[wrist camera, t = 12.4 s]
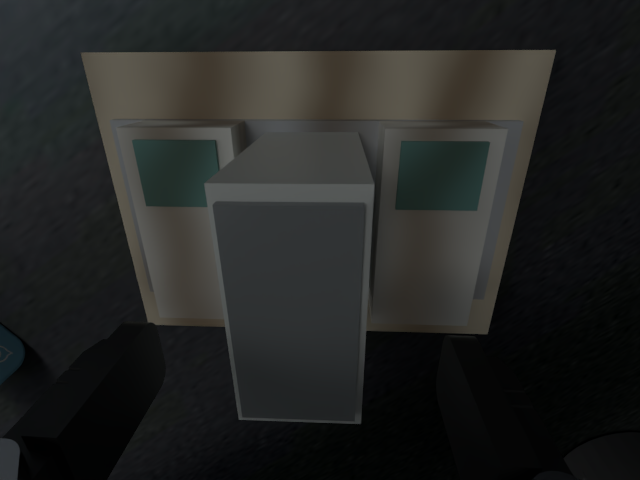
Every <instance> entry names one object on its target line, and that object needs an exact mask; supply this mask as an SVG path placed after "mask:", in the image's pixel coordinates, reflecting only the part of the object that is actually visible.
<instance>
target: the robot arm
mask: <svg viewBox="0 0 640 480" xmlns="http://www.w3.org/2000/svg"><path fill="white" fill-rule="evenodd" d="M165 369H166V368H165V361H164V356H163V352H162V348H161V343H160V339H159V334H158V330H157V327H156V325H155V324H154V323H152V322H123V323H122V324H121V325H120V326H119V327H118V328H117V329H116V330H115V331H114V332H113V334H112V335H111V336H110V337H109V338H108V339H103V340H101V341H100V342H98V343H96V344H95V345H93V346H92V347H90V348H89V349H87V350H86V351H84V352H83V353H82V354H81V355H80V356H79V357H78V358H77V359H76V360H75V361H74V362H73V364H72V365H71V366H70V367H69V370H68V371H65V372H64V373H63V374H62V375H61V376H60V377H59V378H58V379H57V382H56V384H53V385H52V386H51V387H50V388H49V389H48V390H47V391H46V392H45V393H44V394H43V395H42V396H41V397H40V399H39V400H38V401H37V402H36V403H35V404H34V405H33V406H32V407H31V408H30V409H29V410H28V411H27V412H26V413H25V414H24V416H23V417H22V418H21V419H20V420H19V421H18V422H17V423H16V424H15V425H14V426H13V427H12V428H11V429H10V430H9V431H8V433H7V434H6V435H5V436H4V437H3V438H0V480H107V479H108V477H109V475H110V473H111V472H112V470H113V468H114V467H115V465H116V463H117V461H118V460H119V458H120V456H121V455H122V453H123V451H124V450H125V448H126V446H127V444H128V443H129V441H130V439H131V438H132V436H133V434H134V432H135V431H136V429H137V427H138V426H139V424H140V422H141V421H142V419H143V417H144V415H145V414H146V412H147V410H148V409H149V407H150V405H151V403H152V402H153V400H154V398H155V397H156V395H157V393H158V392H159V390H160V388H161V386H162V384H163V381H164V377H165ZM436 393H437V400H438V404H439V407H440V411H441V414H442V418H443V421H444V425H445V428H446V432H447V435H448V439H449V442H450V446H451V449H452V452H453V456H454V459H455V463H456V466H457V470H458V473H459V477H460V480H640V433H638V432H626V433H616V434H611V435H606V436H602V437H599V438H596V439H593V440H590V441H588V442H586V443H584V444H582V445H580V446H578V447H577V448H575V449H574V450H573V451H571V452H570V453H568V454H567V455H566V456H565V457H564V458H563V457H562V455H561V453H560V452H559V450H558V448H557V446H556V445H555V443H554V441H553V439H552V438H551V436H550V434H549V432H548V431H547V429H546V427H545V425H544V424H543V422H542V420H541V418H540V417H539V415H538V413H537V411H536V410H535V409H533V404H532V403H531V401H530V399H529V397H528V396H527V394H525V393H524V389H523V387H522V385H521V384H520V382H519V380H518V378H517V377H516V375H515V373H514V372H513V371H512V370H511V369H510V368H509V367H508V366H506V365H505V364H504V363H503V362H502V361H501V360H500V359H499V358H498V357H486V355H485V353H484V351H483V349H482V347H481V345H480V343H479V341H478V339H477V338H476V337H475V336H455V335H446V336H445V337H444V339H443V344H442V349H441V355H440V360H439V366H438V371H437V377H436Z"/></svg>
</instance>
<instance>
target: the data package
mask: <svg viewBox="0 0 640 480" xmlns="http://www.w3.org/2000/svg"><path fill="white" fill-rule="evenodd" d="M24 358H25V348H24V345H23V343H22V342H21V340H20V339H19V338H18V337H17V336H15V335H14V334H13V333H11V332H10V331H9V330H8V329H6V328H5V327H4V326H3V325H1V324H0V385H1V384H2V383H3V382H4V381H5V380H6V379H7V378H8V377H10V376H11V375H12V374H13V373H14V372H15V371H16V370H17V369H18V368H19V367H20V366H21V364H22V363H23V361H24Z"/></svg>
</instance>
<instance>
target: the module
mask: <svg viewBox="0 0 640 480" xmlns="http://www.w3.org/2000/svg"><path fill="white" fill-rule="evenodd" d="M204 186H205V193H206V200H207V206H208V213H209V220H210V227H211V233H212V240H213V247H214V254H215V261H216V267H217V274H218V281H219V288H220V295H221V301H222V308H223V315H224V322H225V328H226V335H227V342H228V349H229V356H230V362H231V369H232V376H233V383H234V390H235V396H236V403H237V410H238V417H239V420H264V421H291V422H319V423H347V424H361V413H362V395H363V378H364V360H365V342H366V325H367V307H368V289H369V272H370V254H371V237H372V219H373V201H374V181H373V178H372V175H371V172H370V169H369V165H368V162H367V159H366V156H365V153H364V149H363V146H362V143H361V140H360V137H359V134H358V132H266V133H264V134H263V135H262V136H261V137H259V138H258V139H257V140H256V141H255V142H253V143H252V144H251V145H250V146H249V147H247V148H246V149H245V150H244V151H243V152H241V153H240V154H239V155H238V156H237V157H235V158H234V159H233V160H232V161H231V162H229V163H228V164H227V165H226V166H224V167H223V168H222V169H221V170H220V171H218V172H217V173H216V174H215V175H214V176H212V177H211V178H210V179H209V180H208V181H206V182H205V183H204Z"/></svg>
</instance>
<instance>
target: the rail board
mask: <svg viewBox="0 0 640 480" xmlns="http://www.w3.org/2000/svg"><path fill="white" fill-rule="evenodd" d="M555 52H556V50H468V51H291V52H114V53H81V56H82V60H83V64H84V68H85V72H86V76H87V80H88V84H89V88H90V92H91V96H92V100H93V104H94V108H95V112H96V116H97V120H98V124H99V128H100V132H101V136H102V140H103V144H104V148H105V152H106V156H107V160H108V164H109V168H110V172H111V176H112V180H113V184H114V188H115V192H116V196H117V200H118V204H119V208H120V212H121V216H122V220H123V224H124V228H125V232H126V236H127V240H128V244H129V248H130V252H131V256H132V260H133V264H134V268H135V272H136V276H137V280H138V284H139V288H140V292H141V296H142V300H143V304H144V308H145V312H146V316H147V320H148V322H152V323H154V324H155V325H182V326H217V327H225V322H224V315H223V308H222V301H221V295H220V288H219V281H218V274H217V267H216V261H215V254H214V247H213V240H212V233H211V227H210V220H209V213H208V206H207V200H206V193H205V186H204V183H205V182H206V181H208V180H209V179H210V178H211V177H212V176H214V175H215V174H216V173H217V172H218V171H220V170H221V169H222V168H223V167H224V166H226V165H227V164H228V163H229V162H231V161H232V160H233V159H234V158H235V157H237V156H238V155H239V154H240V153H241V152H243V151H244V150H245V149H246V148H247V147H249V146H250V145H251V144H252V143H253V142H255V141H256V140H257V139H258V138H259V137H261V136H262V135H263V134H264V133H266V132H358V134H359V137H360V140H361V143H362V146H363V149H364V153H365V156H366V159H367V162H368V165H369V169H370V172H371V175H372V178H373V181H374V201H373V219H372V237H371V254H370V272H369V289H368V307H367V325H366V331H393V332H428V333H464V334H488V330H489V326H490V322H491V317H492V313H493V309H494V305H495V301H496V297H497V293H498V288H499V284H500V280H501V276H502V272H503V268H504V264H505V259H506V255H507V251H508V247H509V243H510V239H511V235H512V230H513V226H514V222H515V218H516V214H517V210H518V206H519V201H520V197H521V193H522V189H523V185H524V181H525V177H526V172H527V168H528V164H529V160H530V156H531V152H532V148H533V143H534V139H535V135H536V131H537V127H538V123H539V119H540V114H541V110H542V106H543V102H544V98H545V94H546V90H547V85H548V81H549V77H550V73H551V69H552V65H553V61H554V56H555Z"/></svg>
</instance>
